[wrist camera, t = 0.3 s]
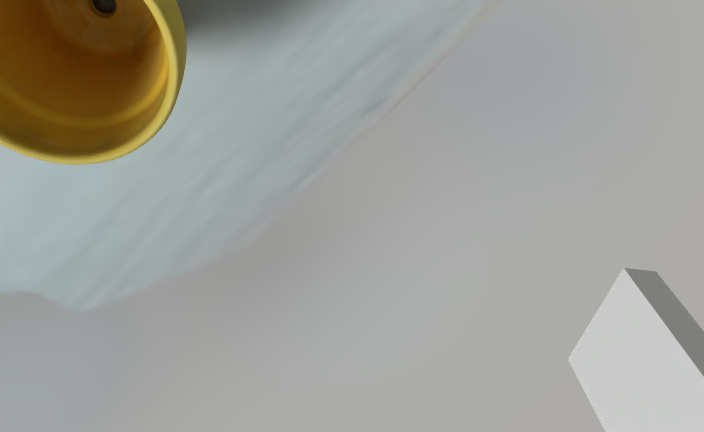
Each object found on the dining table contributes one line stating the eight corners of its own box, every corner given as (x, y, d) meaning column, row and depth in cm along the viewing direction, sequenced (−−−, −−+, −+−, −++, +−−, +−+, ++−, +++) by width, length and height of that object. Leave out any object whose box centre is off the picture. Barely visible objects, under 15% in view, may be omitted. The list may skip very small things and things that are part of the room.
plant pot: (234, 48, 35) (222, 120, 27) (79, 110, 36) (24, 197, 28) (139, -145, 29) (88, -125, 21) (-42, -63, 30) (-156, -15, 22)
